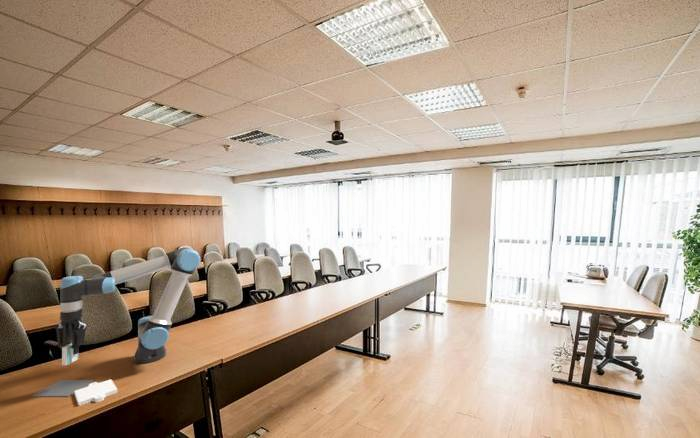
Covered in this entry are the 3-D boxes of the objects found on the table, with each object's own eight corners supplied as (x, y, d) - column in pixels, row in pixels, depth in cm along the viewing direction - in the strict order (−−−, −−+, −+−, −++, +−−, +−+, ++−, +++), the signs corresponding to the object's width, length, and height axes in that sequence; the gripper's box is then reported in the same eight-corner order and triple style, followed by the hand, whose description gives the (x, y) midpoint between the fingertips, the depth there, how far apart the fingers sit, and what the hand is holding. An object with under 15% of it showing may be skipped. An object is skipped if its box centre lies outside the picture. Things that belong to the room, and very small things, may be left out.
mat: (93, 380, 142) (93, 379, 142) (68, 396, 129) (68, 395, 129) (60, 380, 142) (60, 380, 142) (31, 396, 129) (31, 396, 129)
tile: (78, 359, 139) (79, 342, 139) (66, 365, 133) (67, 347, 133) (74, 359, 139) (74, 342, 139) (61, 365, 133) (62, 347, 133)
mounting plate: (118, 395, 131) (118, 391, 131) (79, 409, 121) (79, 404, 121) (109, 381, 143) (110, 377, 143) (73, 392, 133) (73, 388, 133)
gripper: (94, 307, 140) (94, 357, 140) (62, 307, 140) (62, 357, 140) (80, 312, 132) (79, 364, 132) (46, 312, 132) (45, 365, 132)
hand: (70, 360), depth 136 cm, fingers closed on tile, 2 cm apart
